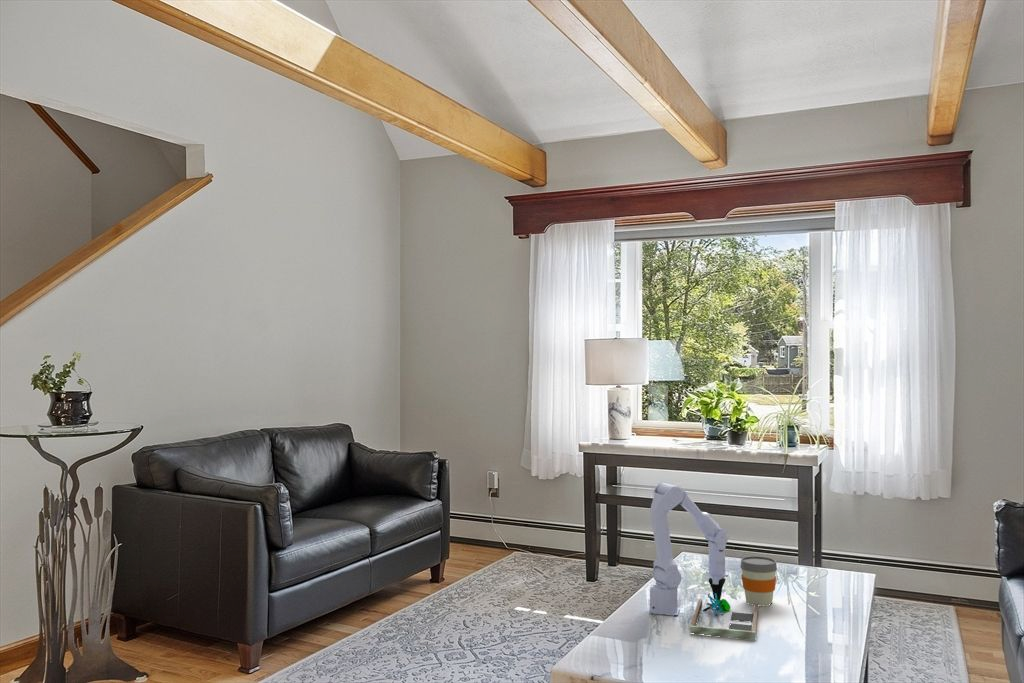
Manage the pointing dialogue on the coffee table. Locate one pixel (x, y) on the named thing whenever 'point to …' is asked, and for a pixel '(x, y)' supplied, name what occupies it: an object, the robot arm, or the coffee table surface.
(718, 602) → the stick construction toy
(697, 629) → the channel box
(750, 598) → the reusable coffee cup
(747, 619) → the mats
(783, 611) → the coffee table surface
